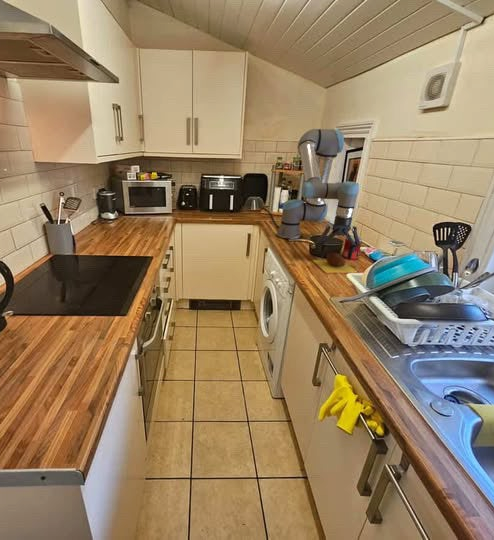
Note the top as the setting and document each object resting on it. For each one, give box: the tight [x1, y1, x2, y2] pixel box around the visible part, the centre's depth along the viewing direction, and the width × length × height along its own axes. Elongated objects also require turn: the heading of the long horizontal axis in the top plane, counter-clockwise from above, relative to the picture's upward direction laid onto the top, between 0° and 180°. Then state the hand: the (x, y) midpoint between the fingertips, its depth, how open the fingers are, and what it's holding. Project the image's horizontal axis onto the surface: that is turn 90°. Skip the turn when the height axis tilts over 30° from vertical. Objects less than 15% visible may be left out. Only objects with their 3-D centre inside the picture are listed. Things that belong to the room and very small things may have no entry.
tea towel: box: [312, 259, 358, 274], centre depth 151 cm, size 16×16×1 cm
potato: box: [325, 252, 347, 267], centre depth 149 cm, size 6×12×6 cm, turn 29°
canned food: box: [341, 235, 363, 261], centre depth 161 cm, size 8×8×11 cm
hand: (335, 258), depth 150 cm, fingers open, 13 cm apart
